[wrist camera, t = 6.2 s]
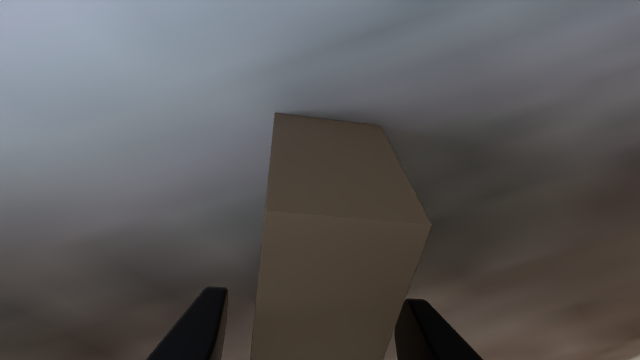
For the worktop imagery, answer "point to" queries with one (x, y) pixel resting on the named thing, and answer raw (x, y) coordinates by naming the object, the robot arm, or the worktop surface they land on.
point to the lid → (334, 242)
